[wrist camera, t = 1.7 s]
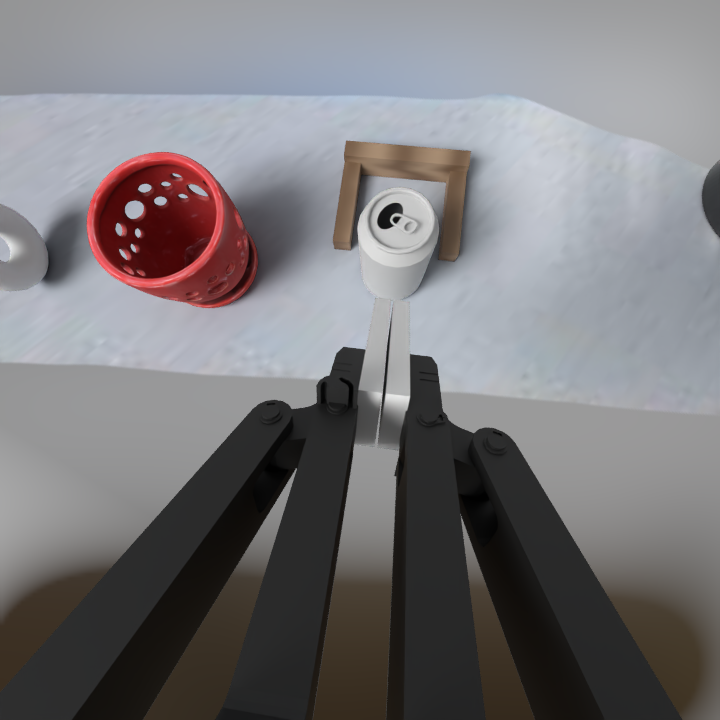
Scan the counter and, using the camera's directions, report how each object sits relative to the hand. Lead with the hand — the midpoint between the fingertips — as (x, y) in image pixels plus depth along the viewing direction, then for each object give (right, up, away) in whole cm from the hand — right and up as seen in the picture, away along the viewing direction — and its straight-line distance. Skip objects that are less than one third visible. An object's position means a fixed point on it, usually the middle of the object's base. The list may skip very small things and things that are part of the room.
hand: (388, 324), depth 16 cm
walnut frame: (+4, +17, +24) cm, 30 cm away
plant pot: (-20, +10, +25) cm, 33 cm away
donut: (-43, +10, +26) cm, 51 cm away
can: (+3, +9, +24) cm, 25 cm away
